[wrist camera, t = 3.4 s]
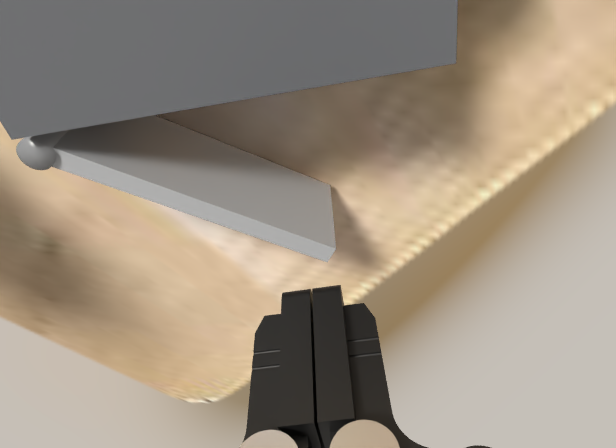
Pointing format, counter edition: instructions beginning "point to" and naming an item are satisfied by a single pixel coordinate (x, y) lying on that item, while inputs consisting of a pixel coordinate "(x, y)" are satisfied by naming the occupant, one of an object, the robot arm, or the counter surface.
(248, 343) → the counter surface
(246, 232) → the side door
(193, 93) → the camera body
